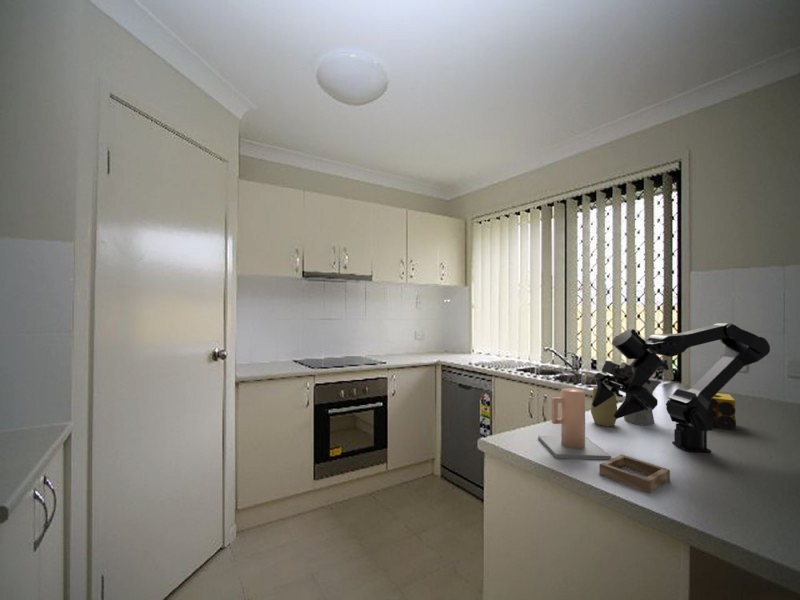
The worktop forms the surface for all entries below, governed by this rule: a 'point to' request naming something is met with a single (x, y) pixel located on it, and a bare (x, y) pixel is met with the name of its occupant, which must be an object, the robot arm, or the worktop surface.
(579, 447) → the tan piece
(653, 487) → the collar
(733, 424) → the yellow spotted cube
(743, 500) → the worktop surface
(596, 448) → the pad
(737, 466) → the worktop surface
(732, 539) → the worktop surface
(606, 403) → the squeeze bottle
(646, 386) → the coffeepot
